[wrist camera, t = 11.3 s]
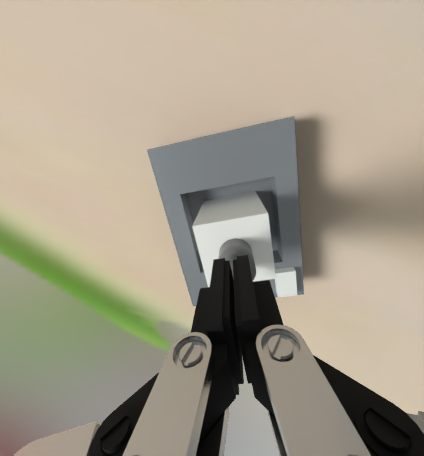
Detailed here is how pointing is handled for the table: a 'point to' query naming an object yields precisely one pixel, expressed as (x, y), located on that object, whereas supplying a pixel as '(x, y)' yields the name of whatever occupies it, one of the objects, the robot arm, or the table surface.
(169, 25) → the table surface
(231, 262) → the plug
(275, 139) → the socket plate
